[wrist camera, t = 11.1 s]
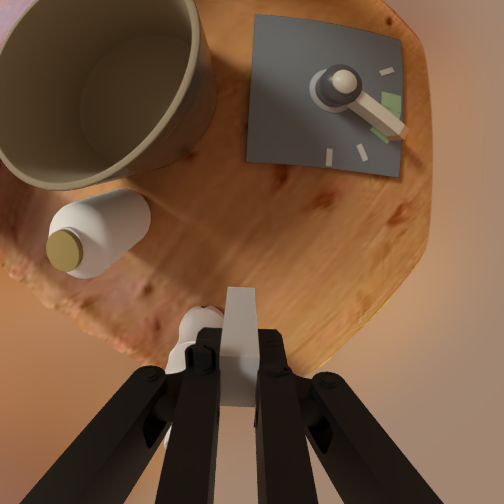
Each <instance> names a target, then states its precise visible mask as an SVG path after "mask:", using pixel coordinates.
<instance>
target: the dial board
mask: <svg viewBox="0 0 504 504" xmlns="http://www.w3.org/2000/svg"><path fill="white" fill-rule="evenodd" d="M336 64H344V65H347V66H349V67H351V68H353V69H354V70H355V71H356V72H357V73H358V74H359V76H360V78H361V80H362V91H364V92H365V93H366V94H368V95H369V96H370V97H372V98H373V99H374V100H376V101H377V102H378V103H379V104H381V105H382V106H383V107H384V108H386V109H387V110H388V111H389V112H391V113H392V114H393V115H394V116H395V117H397V118H398V119H399V120H400V121H401V122H403V66H402V46H401V41H400V40H397V39H394V38H390V37H387V36H383V35H380V34H376V33H372V32H368V31H364V30H360V29H356V28H352V27H347V26H342V25H337V24H332V23H326V22H321V21H314V20H308V19H300V18H292V17H283V16H273V15H259V14H255V25H254V40H253V55H252V71H251V87H250V103H249V120H248V137H247V155H246V162H258V163H273V164H287V165H299V166H310V167H320V168H330V169H339V170H347V171H355V172H363V173H370V174H378V175H384V176H391V177H397V178H399V172H400V159H401V144H402V140H395V141H391V140H390V139H388V138H387V137H386V136H385V135H384V134H382V133H381V132H380V131H379V130H377V129H376V128H375V127H374V126H372V125H371V124H370V123H368V122H367V121H366V120H364V119H363V118H362V117H360V116H359V115H358V114H356V113H355V112H354V111H352V110H351V109H350V108H348V107H347V106H345V105H346V104H345V105H343V106H341V107H329V106H327V105H325V104H323V103H322V102H321V101H320V100H319V99H318V97H317V95H316V92H315V84H316V82H317V80H318V79H319V77H320V76H321V75H322V74H323V73H324V72H325V71H326V70H327V69H328V68H329V67H331V66H333V65H336Z"/></svg>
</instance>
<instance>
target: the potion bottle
mask: <svg viewBox="0 0 504 504" xmlns="http://www.w3.org/2000/svg"><path fill="white" fill-rule="evenodd" d="M150 223H151V212H150V209H149V206H148V203H147V202H146V201H145V199H144V198H143V196H141V195H140V194H139V193H137V192H136V191H133V190H130V189H127V188H125V189H116V190H112V191H109V192H105V193H102V194H98V195H95V196H92V197H88V198H85V199H82V200H78V201H75V202H72V203H70V204H68V205H66V206H64V207H62V208H61V209H60V210H59V211H58V212H57V213H56V215H55V216H54V218H53V220H52V222H51V224H50V230H49V238H48V240H47V245H46V251H47V256H48V258H49V261H50V262H51V264H52V265H53V266H54V267H55V268H56V269H57V270H60V271H62V272H67V273H68V274H69V275H72V276H74V277H76V278H81V279H89V278H92V277H96V276H99V275H100V274H101V273H103V272H104V271H105V270H106V269H107V268H109V267H110V266H111V265H112V264H113V263H114V262H115V261H117V260H118V259H119V258H120V257H121V256H122V255H124V254H125V253H126V252H127V251H128V250H129V249H131V248H132V247H133V246H134V245H135V244H137V243H138V242H139V241H140V240H141V239H143V238H144V236H145V235H146V233H147V232H148V230H149V227H150Z"/></svg>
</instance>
